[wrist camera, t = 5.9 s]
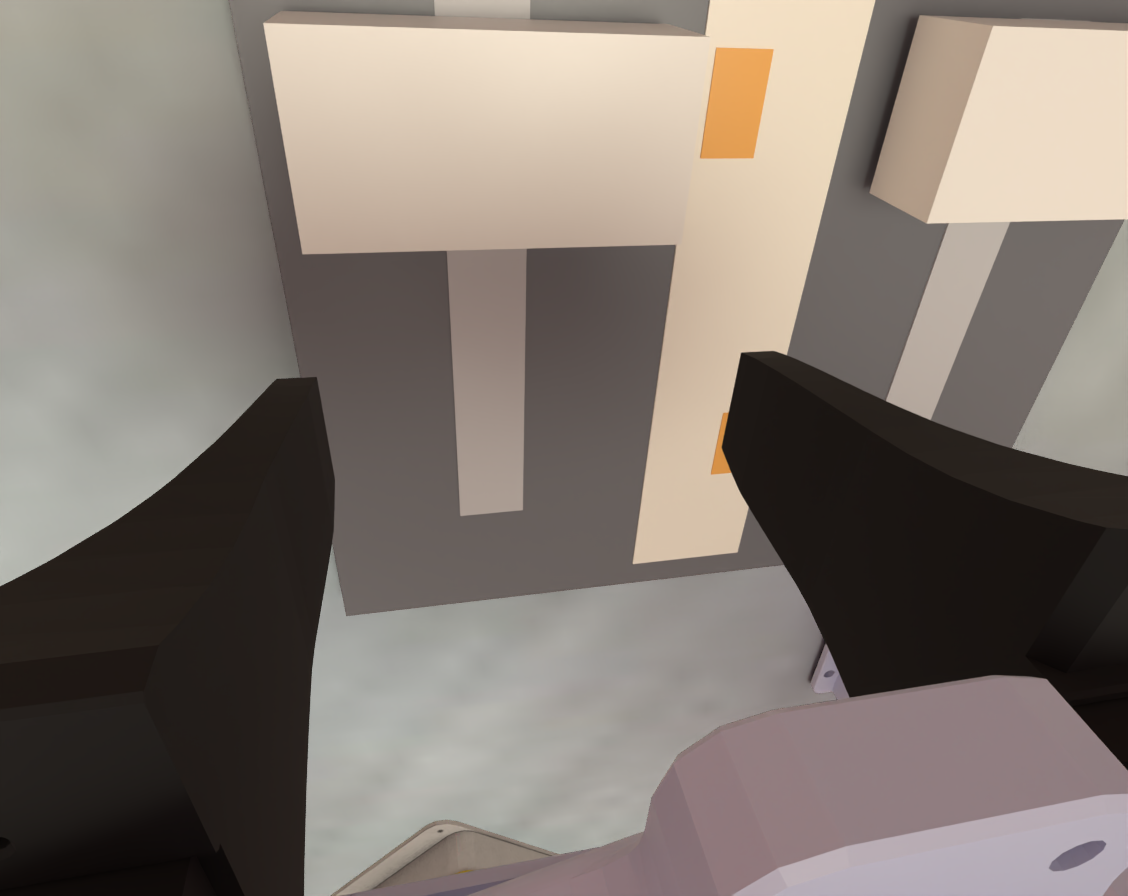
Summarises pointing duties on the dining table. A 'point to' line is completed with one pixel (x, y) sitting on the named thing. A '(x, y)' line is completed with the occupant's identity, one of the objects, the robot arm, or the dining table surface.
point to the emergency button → (442, 856)
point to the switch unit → (658, 316)
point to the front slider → (485, 130)
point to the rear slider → (1009, 122)
